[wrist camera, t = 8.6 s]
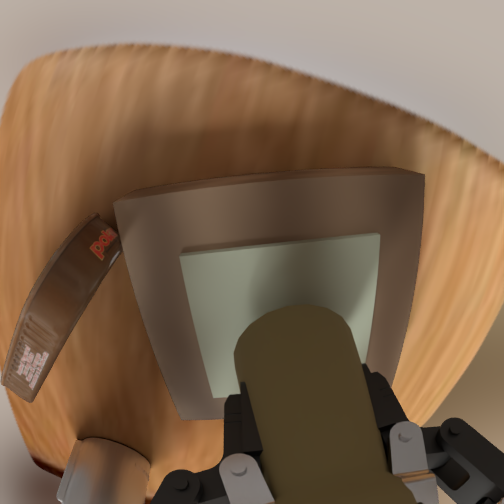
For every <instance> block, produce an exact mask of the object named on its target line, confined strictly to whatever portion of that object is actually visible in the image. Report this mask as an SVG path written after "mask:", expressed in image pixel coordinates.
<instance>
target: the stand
mask: <svg viewBox="0 0 504 504" xmlns="http://www.w3.org/2000/svg"><path fill="white" fill-rule="evenodd" d="M424 187H425V174H421V173H417V172H413V171H409V170H405V169H400V168H396V167H354V168H328V169H310V170H295V171H281V172H269V173H258V174H248V175H238V176H229V177H221V178H212V179H205V180H197V181H190V182H183V183H176V184H169V185H163V186H157V187H150V188H145V189H139V190H135V191H133V192H131V193H129V194H127V195H125V196H124V197H122V198H120V199H118V200H116V201H115V202H113V207H114V212H115V217H116V221H117V226H118V231H119V235H120V240H121V244H122V248H123V252H124V256H125V260H126V264H127V268H128V272H129V275H130V279H131V283H132V286H133V290H134V293H135V297H136V300H137V303H138V307H139V310H140V313H141V316H142V319H143V322H144V325H145V328H146V331H147V334H148V337H149V340H150V343H151V346H152V349H153V352H154V354H155V357H156V360H157V362H158V365H159V368H160V370H161V373H162V375H163V378H164V381H165V383H166V386H167V388H168V390H169V393H170V395H171V398H172V400H173V402H174V405H175V407H176V409H177V412H178V414H179V416H180V418H181V420H212V419H224V403H225V402H226V400H227V398H228V396H229V395H231V394H240V389H239V385H238V380H237V375H236V371H235V365H234V355H233V353H234V350H235V347H236V344H237V341H238V338H239V337H240V336H241V334H242V333H243V332H244V331H245V329H246V328H247V327H248V326H249V325H250V324H251V323H252V322H254V321H255V320H257V319H258V318H260V317H261V316H263V315H264V314H266V313H268V312H271V311H274V310H277V309H279V308H282V307H285V306H291V305H303V304H310V305H315V306H320V307H326V308H328V309H330V310H332V311H333V312H335V313H337V314H339V315H340V316H342V317H343V319H344V320H345V321H346V323H347V324H348V325H349V327H350V328H351V331H352V334H353V338H354V341H355V344H356V347H357V350H358V354H359V357H360V360H361V363H366V364H367V366H368V368H369V370H370V372H371V373H373V372H379V373H380V374H381V375H383V376H384V377H385V378H386V379H387V381H388V383H389V385H390V388H391V387H392V383H393V380H394V377H395V373H396V370H397V366H398V363H399V359H400V355H401V351H402V347H403V343H404V339H405V335H406V331H407V326H408V321H409V317H410V312H411V307H412V301H413V296H414V290H415V284H416V277H417V270H418V263H419V255H420V246H421V236H422V225H423V210H424Z"/></svg>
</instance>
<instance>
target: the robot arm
mask: <svg viewBox="0 0 504 504" xmlns="http://www.w3.org/2000/svg"><path fill="white" fill-rule="evenodd" d="M362 368H363V372H364V376H365V380H366V383H367V387H368V391H369V395H370V399H371V403H372V407H373V411H374V416H375V420H376V423H377V427H378V429H379V430H380V433H381V437H382V441H383V446H384V450H385V454H386V459H387V463H388V468H389V473H391V474H393V475H395V476H397V477H399V478H401V479H402V481H403V483H404V484H405V485H406V486H407V487H408V488H409V489H410V490H411V491H412V492H413V495H414V497H415V499H416V502H417V503H418V504H439V500H438V491H437V485H438V486H439V487H440V488H441V489H442V490H443V491H444V492H445V493H446V494H447V495H448V496H449V497H450V498H452V500H454V501H455V502H456V503H457V504H504V453H503V452H501V451H500V450H499V449H498V448H497V447H495V446H494V445H493V444H491V443H490V442H489V441H488V440H487V439H486V438H484V437H483V436H482V435H481V434H479V433H478V432H477V431H476V430H475V429H473V428H472V427H471V426H470V425H468V424H467V423H466V422H465V421H463V420H462V419H460V418H449V419H447V420H445V421H444V422H443V423H442V425H441V426H439V427H427V428H423V427H419V426H418V425H417V424H415V423H413V422H410V421H409V420H408V418H407V417H406V415H405V413H404V411H403V409H402V407H401V405H400V403H399V402H398V400H397V398H396V396H395V395H394V392H393V390H392V389H391V388H390V385H389V383H388V381H387V379H386V378H385V377H384V376H383V375H381V374H380V373H379V372H373V373H371V372H370V370H369V368H368V366H367V364H366V363H362ZM240 390H241V394H231V395H229V396H228V398H227V400H226V402H225V403H224V454H223V457H222V459H221V461H220V462H219V463H218V464H217V465H216V466H215V467H213V468H211V469H208V470H205V471H201V472H198V473H193V472H191V471H188V470H175V471H172V472H170V473H169V474H168V475H167V476H166V477H165V478H164V480H163V481H162V483H161V485H160V487H159V489H158V490H157V492H156V494H155V496H154V497H153V499H152V501H151V503H150V504H274V503H275V501H274V499H273V497H272V495H271V493H270V491H269V488H268V486H267V484H266V482H265V480H264V478H263V475H262V473H261V465H260V455H261V453H262V452H263V446H262V443H261V439H260V435H259V432H258V428H257V425H256V421H255V417H254V413H253V410H252V406H251V402H250V398H249V394H248V391H247V387H246V383H245V382H240ZM149 473H150V464H149V462H148V461H147V460H146V459H145V458H144V457H143V456H142V455H140V454H139V453H137V452H136V451H134V450H132V449H130V448H128V447H126V446H124V445H121V444H119V443H116V442H113V441H110V440H106V439H101V438H86V439H84V440H82V441H80V440H76V442H75V444H74V447H73V450H72V452H71V455H70V458H69V460H68V463H67V466H66V469H65V472H64V475H63V478H62V481H61V484H60V487H59V490H58V493H57V499H58V500H59V501H60V502H62V504H144V503H145V497H146V491H147V484H148V481H149Z"/></svg>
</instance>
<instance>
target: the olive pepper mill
mask: <svg viewBox="0 0 504 504" xmlns="http://www.w3.org/2000/svg"><path fill="white" fill-rule="evenodd" d="M233 355H234V365H235V371H236V375H237V380H238V385H239V389H240V382H245V383H246V387H247V391H248V394H249V398H250V402H251V406H252V410H253V413H254V417H255V421H256V425H257V428H258V432H259V435H260V439H261V443H262V446H263V452H262V453H261V455H260V465H261V473H262V475H263V478H264V480H265V482H266V484H267V486H268V488H269V491H270V493H271V495H272V497H273V499H274V501H275V503H274V504H418V503H417V502H416V499H415V497H414V495H413V492H412V491H411V490H410V489H409V488H408V487H407V486H406V485H405V484H404V483H403V481H402V479H401V478H399V477H397V476H395V475H393V474H391V473H389V468H388V463H387V459H386V454H385V450H384V446H383V441H382V437H381V433H380V430H379V429H378V427H377V423H376V420H375V416H374V411H373V407H372V403H371V399H370V395H369V391H368V387H367V383H366V380H365V376H364V372H363V368H362V363H361V360H360V357H359V354H358V350H357V347H356V344H355V341H354V338H353V334H352V331H351V328H350V327H349V325H348V324H347V323H346V321H345V320H344V319H343V317H342V316H340V315H339V314H337V313H335V312H333V311H332V310H330V309H328V308H326V307H320V306H315V305H310V304H303V305H291V306H285V307H282V308H279V309H277V310H274V311H271V312H268V313H266V314H264V315H263V316H261V317H260V318H258V319H257V320H255V321H254V322H252V323H251V324H250V325H249V326H248V327H247V328H246V329H245V331H244V332H243V333H242V334H241V336H240V337H239V338H238V341H237V344H236V347H235V350H234V353H233ZM240 394H241V390H240Z"/></svg>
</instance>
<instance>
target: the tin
mask: <svg viewBox="0 0 504 504" xmlns="http://www.w3.org/2000/svg"><path fill="white" fill-rule="evenodd" d="M122 251H123V248H122V244H121V240H120V235H119V233H118V232H116V231H115V230H114V229H113V228H112V227H110V226H109V225H108V224H107V223H106V222H104V221H103V220H102V219H101V218H100V215H99V214H98V213H93V214H91V215H90V216H88V217H87V218H86V219H85V220H84V221H83V222H81V223H80V225H78V226H77V227H76V228H75V229H74V230H73V232H72V233H71V234H70V235H69V236H68V237H67V238H66V239H65V241H64V242H63V243H62V244H61V245H60V247H59V248H58V249H57V251H56V252H55V253H54V254H53V256H52V257H51V259H50V260H49V262H48V263H47V265H46V266H45V268H44V269H43V271H42V273H41V274H40V276H39V278H38V279H37V281H36V283H35V284H34V286H33V288H32V290H31V292H30V294H29V296H28V298H27V299H26V302H25V304H24V307H23V309H22V311H21V314H20V317H19V320H18V322H17V325H16V328H15V332H14V334H13V337H12V340H11V344H10V347H9V351H8V354H7V357H6V361H5V365H4V369H3V373H2V376H1V385H3V386H6V387H7V388H9V389H10V390H11V391H13V392H14V393H15V394H17V395H18V396H19V397H21V398H22V399H24V400H25V401H27V402H29V403H31V402H33V401H34V399H35V397H36V395H37V393H38V392H39V390H40V388H41V386H42V384H43V382H44V381H45V379H46V377H47V375H48V373H49V372H50V370H51V368H52V366H53V364H54V362H55V360H56V359H57V357H58V355H59V353H60V351H61V349H62V347H63V346H64V344H65V342H66V340H67V338H68V337H69V335H70V333H71V332H72V330H73V328H74V326H75V325H76V323H77V321H78V320H79V318H80V316H81V315H82V313H83V311H84V310H85V308H86V307H87V305H88V303H89V302H90V300H91V298H92V297H93V295H94V293H95V292H96V290H97V288H98V287H99V285H100V284H101V282H102V280H103V279H104V277H105V276H106V274H107V273H108V271H109V269H110V268H111V266H112V265H113V264H114V262H115V261H116V259H117V258H118V256H119V255H120V254H121V252H122Z"/></svg>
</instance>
